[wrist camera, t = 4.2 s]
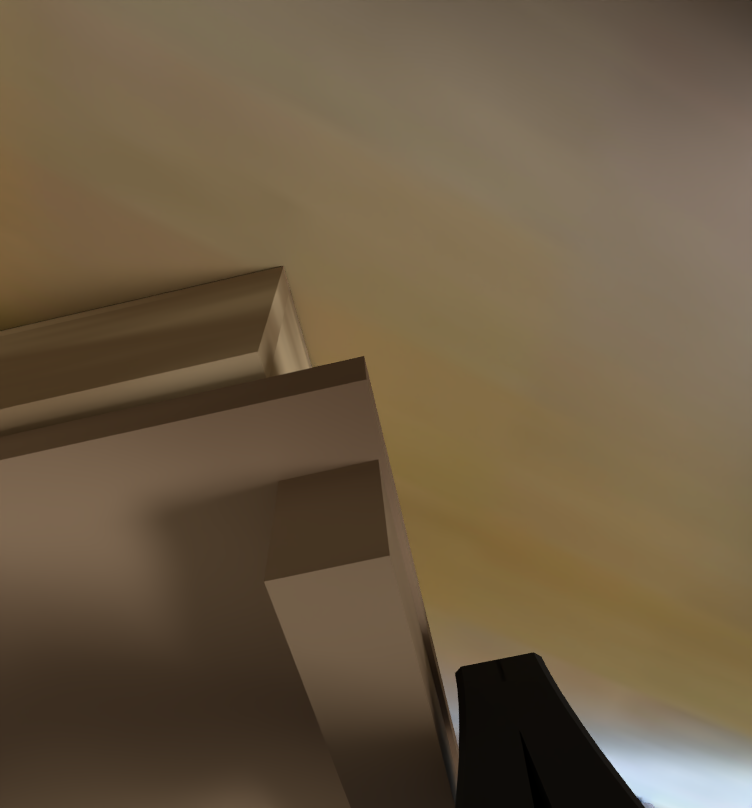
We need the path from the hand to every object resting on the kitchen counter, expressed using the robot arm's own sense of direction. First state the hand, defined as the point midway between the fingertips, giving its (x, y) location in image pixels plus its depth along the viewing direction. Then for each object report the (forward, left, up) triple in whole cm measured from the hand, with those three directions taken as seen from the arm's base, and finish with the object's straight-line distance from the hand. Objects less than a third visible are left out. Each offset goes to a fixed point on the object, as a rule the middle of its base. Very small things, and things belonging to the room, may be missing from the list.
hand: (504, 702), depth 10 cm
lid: (0, +5, -1) cm, 6 cm away
